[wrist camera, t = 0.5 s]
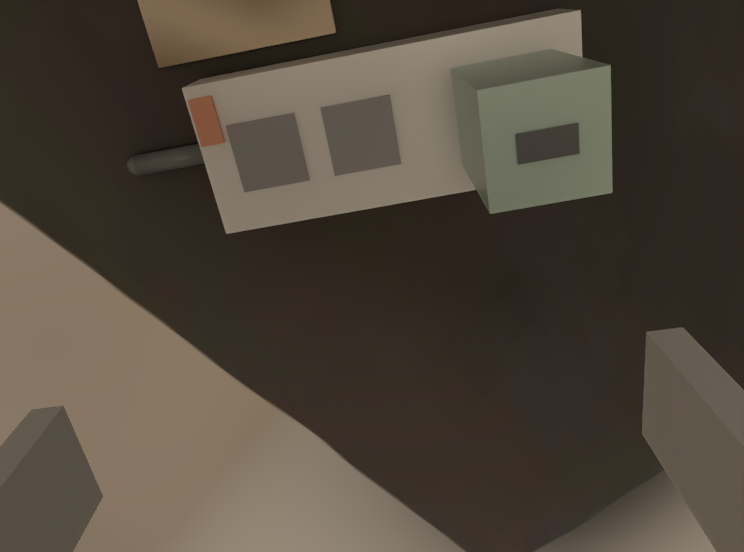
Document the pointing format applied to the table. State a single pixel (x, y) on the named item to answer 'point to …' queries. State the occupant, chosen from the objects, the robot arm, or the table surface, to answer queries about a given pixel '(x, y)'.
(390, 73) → the power strip
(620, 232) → the table surface
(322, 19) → the cork coaster
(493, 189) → the block
